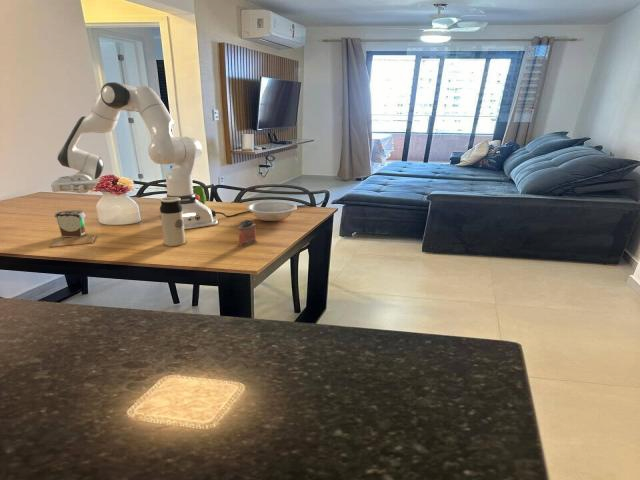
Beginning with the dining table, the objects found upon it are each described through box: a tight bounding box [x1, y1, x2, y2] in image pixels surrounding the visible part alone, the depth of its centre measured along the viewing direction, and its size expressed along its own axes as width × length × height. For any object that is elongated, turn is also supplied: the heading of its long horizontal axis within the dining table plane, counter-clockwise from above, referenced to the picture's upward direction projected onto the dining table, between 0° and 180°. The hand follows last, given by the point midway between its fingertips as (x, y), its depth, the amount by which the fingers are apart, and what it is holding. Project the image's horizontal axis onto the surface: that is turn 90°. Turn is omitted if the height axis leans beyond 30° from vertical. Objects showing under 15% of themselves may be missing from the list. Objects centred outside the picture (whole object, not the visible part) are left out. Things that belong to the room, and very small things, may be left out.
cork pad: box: [49, 235, 96, 248], centre depth 151 cm, size 14×9×1 cm, turn 112°
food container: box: [54, 209, 87, 238], centre depth 157 cm, size 12×6×10 cm, turn 79°
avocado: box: [193, 185, 207, 205], centre depth 205 cm, size 8×8×12 cm
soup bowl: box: [246, 200, 298, 222], centre depth 186 cm, size 24×24×7 cm
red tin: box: [237, 218, 257, 247], centre depth 151 cm, size 8×3×10 cm, turn 141°
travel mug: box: [159, 196, 186, 247], centre depth 149 cm, size 8×8×18 cm
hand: (75, 189), depth 165 cm, fingers closed
